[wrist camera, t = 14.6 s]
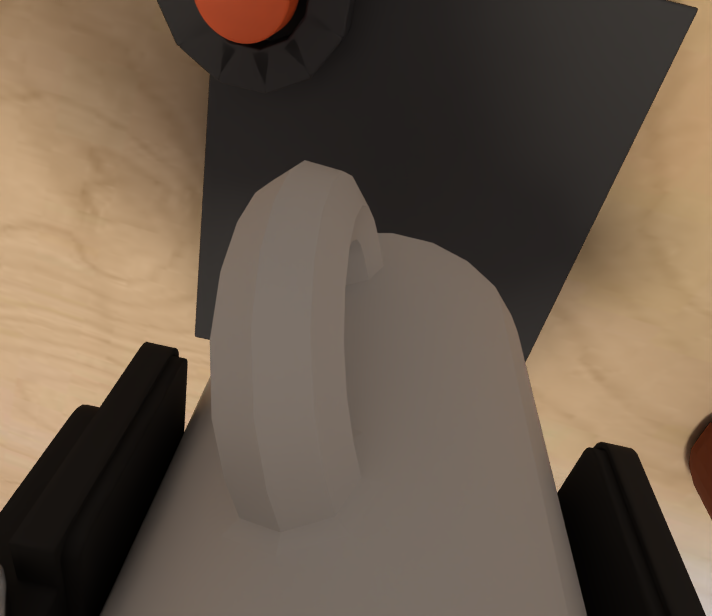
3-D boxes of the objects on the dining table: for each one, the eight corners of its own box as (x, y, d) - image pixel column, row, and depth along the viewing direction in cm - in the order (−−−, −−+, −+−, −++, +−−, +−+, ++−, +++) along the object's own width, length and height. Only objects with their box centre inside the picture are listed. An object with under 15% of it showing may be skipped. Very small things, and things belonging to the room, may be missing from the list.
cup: (279, 448, 17) (176, 829, 10) (163, 125, 12) (-239, 439, 5) (519, 436, 16) (603, 861, 9) (510, 69, 11) (710, 375, 3)
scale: (193, -151, 16) (152, -167, 14) (693, -24, 17) (741, -18, 14) (177, 313, 26) (151, 353, 23) (500, 384, 26) (509, 431, 24)
